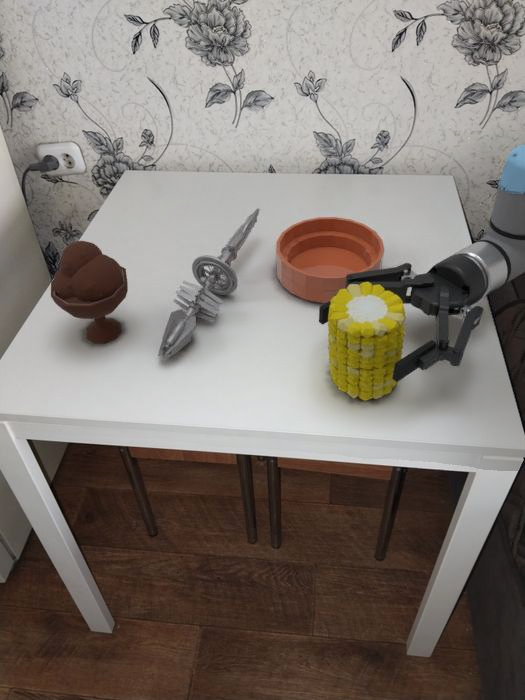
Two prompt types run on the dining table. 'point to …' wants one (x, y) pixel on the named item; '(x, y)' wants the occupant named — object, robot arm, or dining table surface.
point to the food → (365, 339)
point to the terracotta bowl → (325, 256)
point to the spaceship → (204, 291)
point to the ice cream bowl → (90, 288)
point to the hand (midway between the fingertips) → (356, 342)
